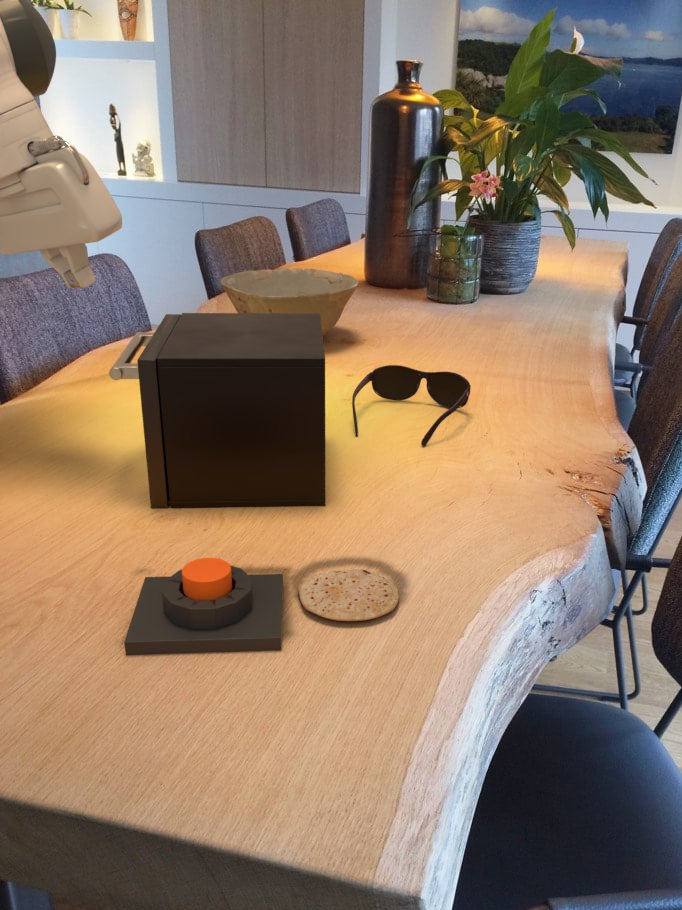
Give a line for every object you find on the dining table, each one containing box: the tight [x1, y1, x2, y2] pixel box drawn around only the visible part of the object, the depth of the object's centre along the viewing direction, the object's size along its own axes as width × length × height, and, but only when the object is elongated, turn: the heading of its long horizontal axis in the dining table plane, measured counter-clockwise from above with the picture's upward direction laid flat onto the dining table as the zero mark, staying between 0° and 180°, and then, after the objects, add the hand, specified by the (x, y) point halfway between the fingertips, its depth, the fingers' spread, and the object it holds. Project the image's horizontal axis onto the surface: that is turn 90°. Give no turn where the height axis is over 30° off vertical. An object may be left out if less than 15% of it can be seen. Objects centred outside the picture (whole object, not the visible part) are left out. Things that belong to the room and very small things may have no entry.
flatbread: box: [297, 568, 400, 622], centre depth 66 cm, size 8×8×1 cm
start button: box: [182, 557, 232, 600], centre depth 62 cm, size 4×4×2 cm
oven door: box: [108, 313, 182, 509], centre depth 85 cm, size 5×18×15 cm, turn 5°
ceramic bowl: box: [220, 268, 359, 337], centre depth 137 cm, size 22×23×10 cm
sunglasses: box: [351, 364, 472, 447], centre depth 103 cm, size 14×16×5 cm
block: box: [123, 565, 284, 656], centre depth 63 cm, size 11×9×3 cm
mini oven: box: [157, 312, 326, 510], centre depth 86 cm, size 15×18×15 cm
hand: (83, 285), depth 85 cm, fingers closed
